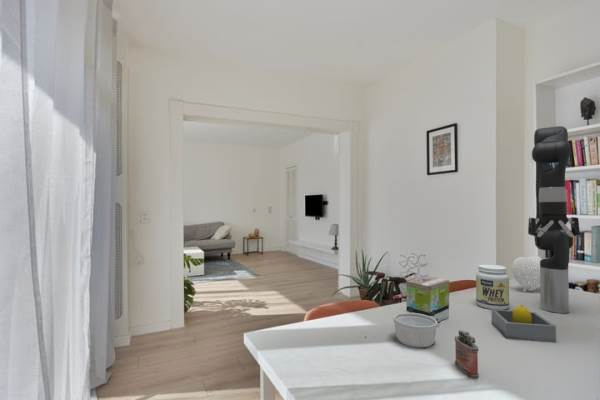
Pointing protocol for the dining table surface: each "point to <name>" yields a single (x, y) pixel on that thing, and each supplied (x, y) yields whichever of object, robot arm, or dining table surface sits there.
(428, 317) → the ramekin
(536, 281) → the white textured ornament
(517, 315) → the lemon
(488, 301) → the supplement tub
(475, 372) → the lighter
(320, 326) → the dining table surface
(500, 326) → the bin
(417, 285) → the tea box
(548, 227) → the robot arm
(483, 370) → the dining table surface
